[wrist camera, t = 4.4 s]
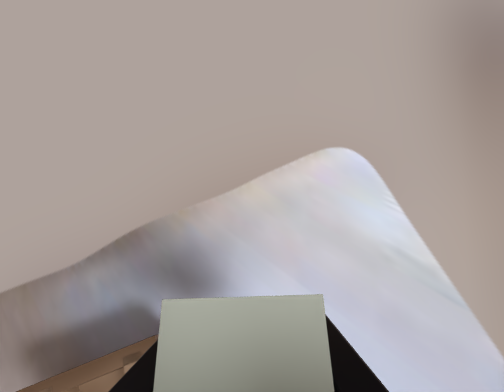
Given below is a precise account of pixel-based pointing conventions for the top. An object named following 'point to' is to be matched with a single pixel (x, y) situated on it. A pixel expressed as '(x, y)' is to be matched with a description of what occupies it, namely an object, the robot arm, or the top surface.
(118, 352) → the tray
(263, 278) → the top surface
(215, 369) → the pale green rectangular block
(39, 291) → the top surface
